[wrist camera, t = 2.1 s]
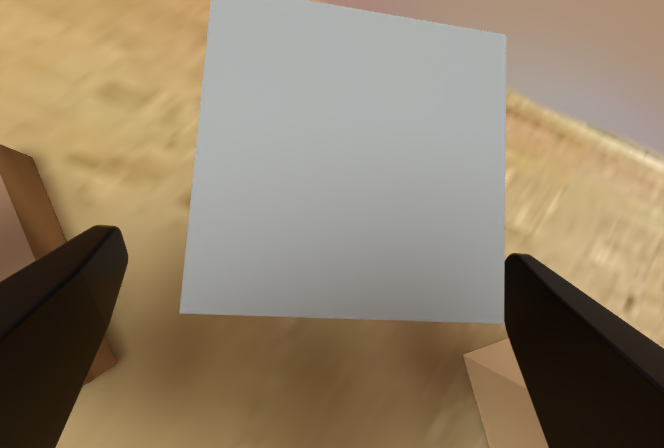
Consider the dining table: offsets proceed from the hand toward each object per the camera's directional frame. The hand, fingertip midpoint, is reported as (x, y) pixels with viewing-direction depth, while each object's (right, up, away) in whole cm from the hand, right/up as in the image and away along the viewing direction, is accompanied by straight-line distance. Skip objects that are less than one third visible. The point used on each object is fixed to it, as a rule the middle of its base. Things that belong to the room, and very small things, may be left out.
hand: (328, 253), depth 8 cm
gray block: (-1, +1, +9) cm, 9 cm away
